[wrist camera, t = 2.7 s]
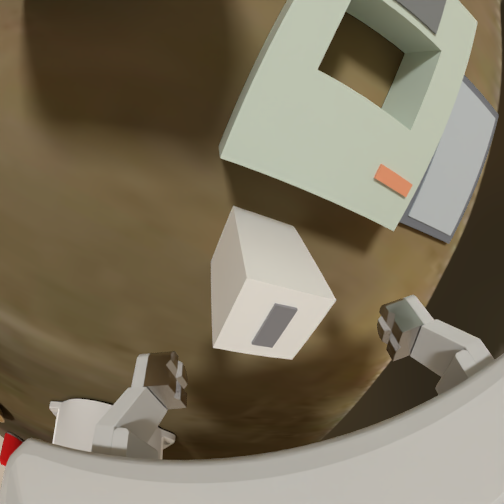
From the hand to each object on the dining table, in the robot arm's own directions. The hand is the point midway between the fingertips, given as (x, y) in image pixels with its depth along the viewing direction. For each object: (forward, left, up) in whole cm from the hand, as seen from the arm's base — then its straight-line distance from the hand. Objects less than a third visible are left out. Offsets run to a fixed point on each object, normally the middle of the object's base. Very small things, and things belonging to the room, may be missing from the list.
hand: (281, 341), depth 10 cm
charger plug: (0, 0, -8) cm, 8 cm away
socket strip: (+13, -1, -8) cm, 15 cm away
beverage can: (-76, +40, -8) cm, 87 cm away
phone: (+12, -12, -9) cm, 19 cm away
